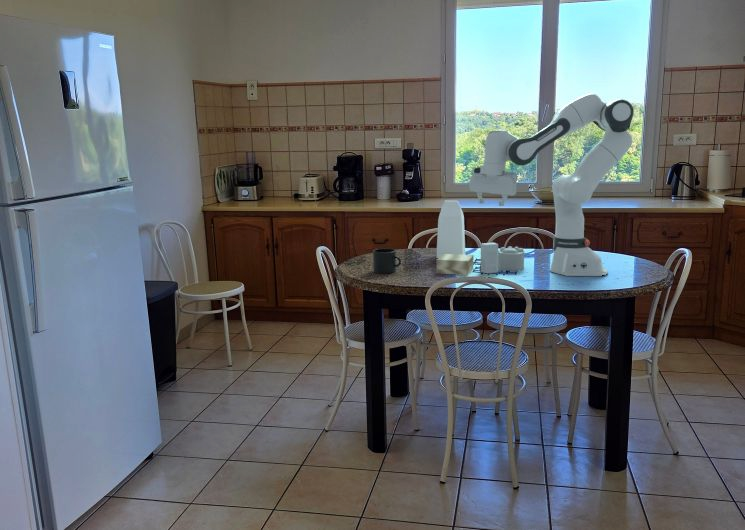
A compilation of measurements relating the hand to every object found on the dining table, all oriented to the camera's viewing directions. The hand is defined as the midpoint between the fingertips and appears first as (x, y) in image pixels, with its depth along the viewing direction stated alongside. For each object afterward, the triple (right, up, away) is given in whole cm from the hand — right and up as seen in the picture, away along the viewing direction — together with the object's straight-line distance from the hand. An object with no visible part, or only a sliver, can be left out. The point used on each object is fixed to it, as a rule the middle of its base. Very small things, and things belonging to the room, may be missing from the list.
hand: (491, 204), depth 266 cm
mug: (-42, -28, +6) cm, 51 cm away
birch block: (-14, -27, +7) cm, 31 cm away
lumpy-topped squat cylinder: (+11, -26, +11) cm, 30 cm away
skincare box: (0, -28, +3) cm, 28 cm away
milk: (-12, -21, +36) cm, 44 cm away
